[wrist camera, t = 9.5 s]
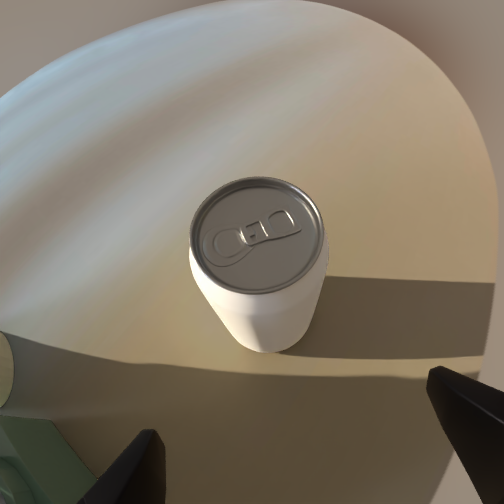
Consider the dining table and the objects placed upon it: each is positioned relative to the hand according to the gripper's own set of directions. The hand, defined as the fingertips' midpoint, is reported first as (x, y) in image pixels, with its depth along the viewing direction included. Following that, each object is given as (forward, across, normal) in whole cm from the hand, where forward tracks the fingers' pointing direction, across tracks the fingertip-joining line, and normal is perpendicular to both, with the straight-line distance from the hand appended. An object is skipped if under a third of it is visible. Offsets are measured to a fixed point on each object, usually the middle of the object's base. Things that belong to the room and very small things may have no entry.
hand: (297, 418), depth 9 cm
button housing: (+5, +20, +14) cm, 25 cm away
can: (+15, 0, +4) cm, 15 cm away
